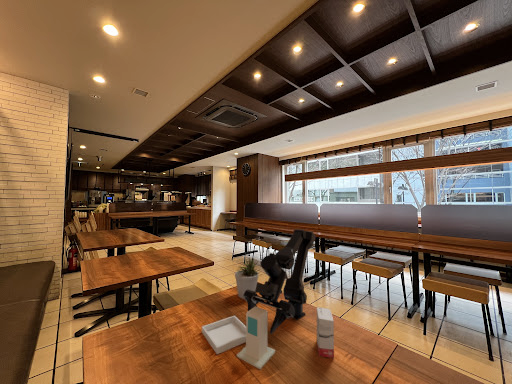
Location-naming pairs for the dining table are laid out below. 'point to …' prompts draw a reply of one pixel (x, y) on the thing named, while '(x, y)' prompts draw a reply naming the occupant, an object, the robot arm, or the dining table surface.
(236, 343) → the parts tray
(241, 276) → the potted plant
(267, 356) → the board
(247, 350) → the carton
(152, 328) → the dining table surface
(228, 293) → the dining table surface
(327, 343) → the ink box
